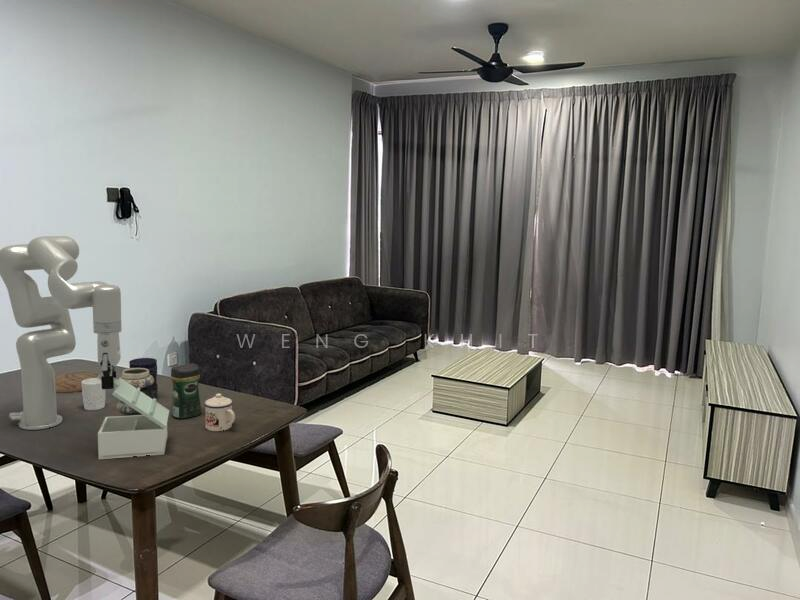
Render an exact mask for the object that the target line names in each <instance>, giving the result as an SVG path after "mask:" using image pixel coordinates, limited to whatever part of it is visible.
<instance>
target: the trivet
mask: <svg viewBox="0 0 800 600" xmlns="http://www.w3.org/2000/svg"><path fill="white" fill-rule="evenodd" d="M100 373H101V372H100ZM100 373H99V372H93V371H74V372H65V373H59V374H55V385H56V393H69V394H74V393H73V392H79V393H82V384H81V382H82V381H83V380H86V379H90V378H97V377H98V376H99V374H100Z"/></svg>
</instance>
